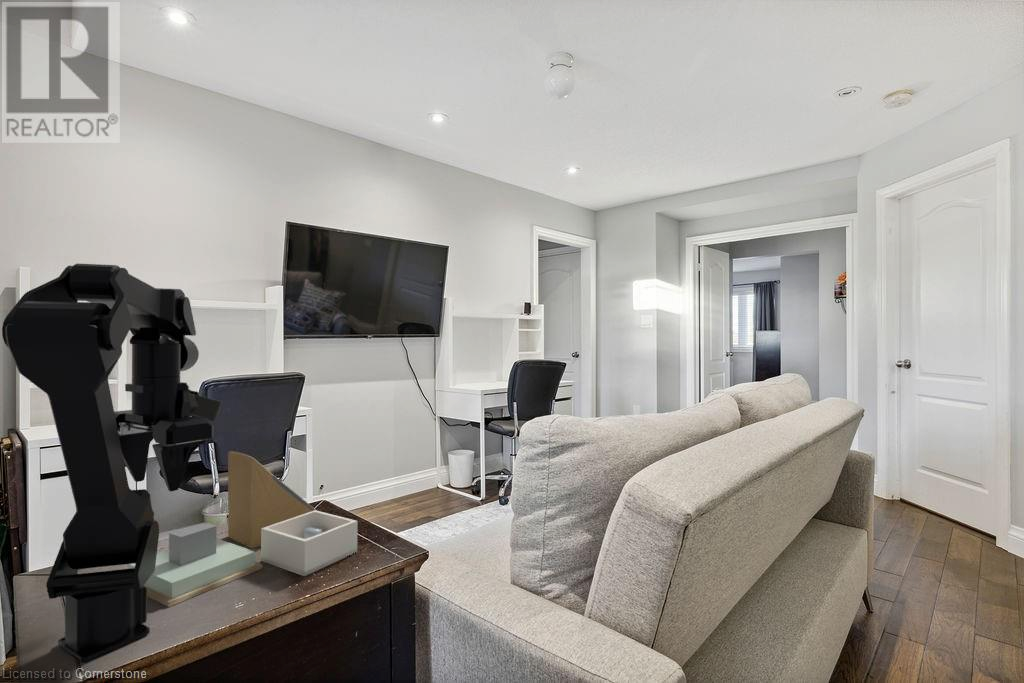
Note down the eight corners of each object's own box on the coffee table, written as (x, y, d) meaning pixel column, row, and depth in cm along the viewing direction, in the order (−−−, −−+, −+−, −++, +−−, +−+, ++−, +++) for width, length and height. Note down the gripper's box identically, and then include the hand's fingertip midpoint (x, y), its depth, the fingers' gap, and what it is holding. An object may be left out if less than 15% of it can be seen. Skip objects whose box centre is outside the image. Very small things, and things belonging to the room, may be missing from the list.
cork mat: (168, 606, 66) (168, 602, 66) (118, 582, 73) (118, 578, 73) (262, 568, 77) (262, 564, 77) (211, 550, 84) (211, 546, 84)
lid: (172, 598, 67) (172, 551, 67) (126, 577, 73) (127, 534, 73) (255, 565, 77) (255, 524, 77) (209, 548, 83) (210, 511, 83)
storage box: (304, 576, 75) (304, 541, 75) (261, 561, 80) (261, 528, 80) (357, 552, 84) (357, 520, 84) (314, 539, 89) (315, 510, 89)
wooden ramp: (334, 523, 97) (335, 442, 97) (251, 549, 85) (252, 457, 85) (308, 513, 102) (309, 437, 102) (227, 537, 90) (227, 450, 90)
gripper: (249, 375, 77) (249, 482, 77) (180, 371, 86) (179, 465, 86) (168, 380, 67) (168, 502, 67) (100, 374, 76) (99, 481, 76)
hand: (156, 485), depth 74 cm, fingers open, 9 cm apart
